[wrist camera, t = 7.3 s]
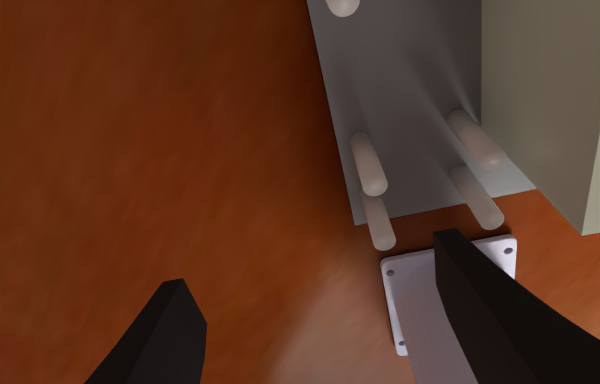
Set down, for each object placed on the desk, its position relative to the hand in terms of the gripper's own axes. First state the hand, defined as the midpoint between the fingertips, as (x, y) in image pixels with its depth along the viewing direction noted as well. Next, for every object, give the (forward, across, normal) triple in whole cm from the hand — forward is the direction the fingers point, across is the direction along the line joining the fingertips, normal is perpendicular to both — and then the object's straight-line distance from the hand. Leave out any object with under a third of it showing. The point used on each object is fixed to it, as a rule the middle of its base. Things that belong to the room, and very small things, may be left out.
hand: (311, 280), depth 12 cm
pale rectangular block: (+9, -10, -3) cm, 14 cm away
